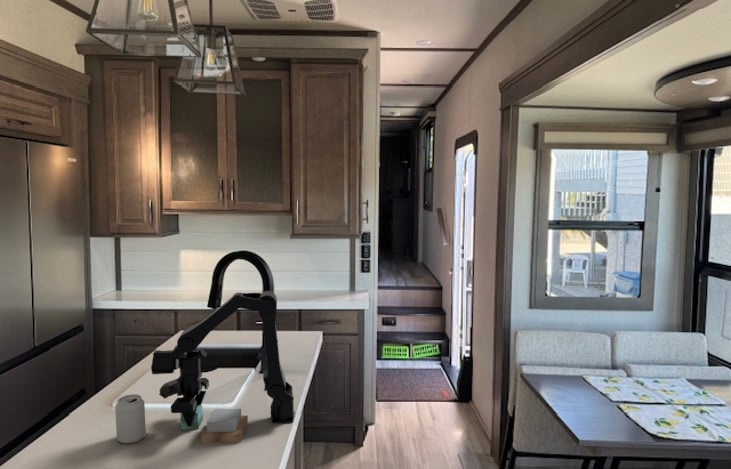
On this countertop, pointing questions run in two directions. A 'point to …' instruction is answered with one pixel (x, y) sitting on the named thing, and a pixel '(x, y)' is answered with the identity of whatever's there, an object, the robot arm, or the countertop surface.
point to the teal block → (196, 421)
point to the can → (130, 419)
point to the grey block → (224, 420)
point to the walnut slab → (225, 433)
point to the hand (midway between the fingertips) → (192, 421)
